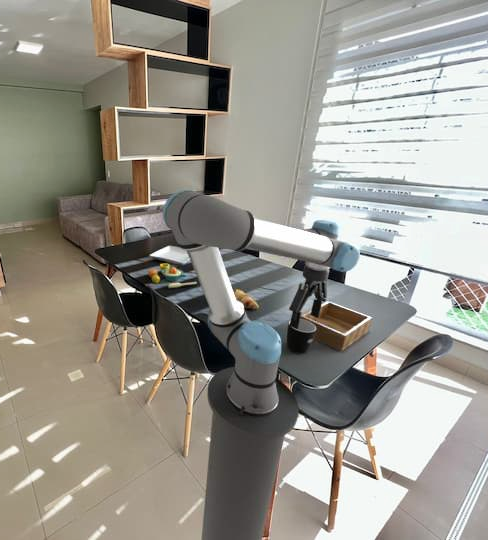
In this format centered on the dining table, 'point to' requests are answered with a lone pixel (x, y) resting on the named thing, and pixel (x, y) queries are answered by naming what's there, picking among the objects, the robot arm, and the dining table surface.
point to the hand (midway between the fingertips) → (304, 321)
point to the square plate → (171, 255)
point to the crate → (338, 325)
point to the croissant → (245, 299)
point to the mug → (300, 336)
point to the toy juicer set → (169, 275)
